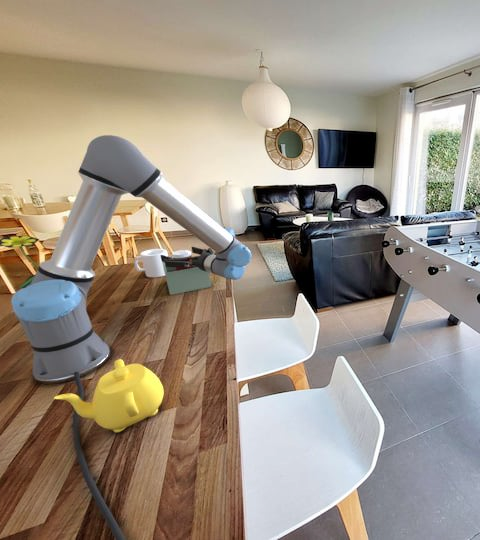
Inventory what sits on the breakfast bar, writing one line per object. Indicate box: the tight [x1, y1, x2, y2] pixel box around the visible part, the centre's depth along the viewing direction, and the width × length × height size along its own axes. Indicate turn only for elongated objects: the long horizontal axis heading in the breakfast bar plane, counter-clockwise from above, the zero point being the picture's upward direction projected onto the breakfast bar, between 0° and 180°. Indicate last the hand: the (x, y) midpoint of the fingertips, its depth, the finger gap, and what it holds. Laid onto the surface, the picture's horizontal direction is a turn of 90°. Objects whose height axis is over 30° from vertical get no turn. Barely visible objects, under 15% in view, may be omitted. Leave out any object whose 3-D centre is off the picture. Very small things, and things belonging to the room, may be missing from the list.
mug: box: [133, 248, 169, 278], centre depth 135 cm, size 14×10×11 cm
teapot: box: [53, 358, 165, 433], centre depth 64 cm, size 14×14×12 cm
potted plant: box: [0, 234, 93, 307], centre depth 94 cm, size 18×19×30 cm
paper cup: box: [170, 249, 193, 271], centre depth 126 cm, size 8×8×14 cm
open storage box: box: [162, 262, 212, 296], centre depth 126 cm, size 16×16×10 cm
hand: (177, 253), depth 124 cm, fingers open, 13 cm apart
